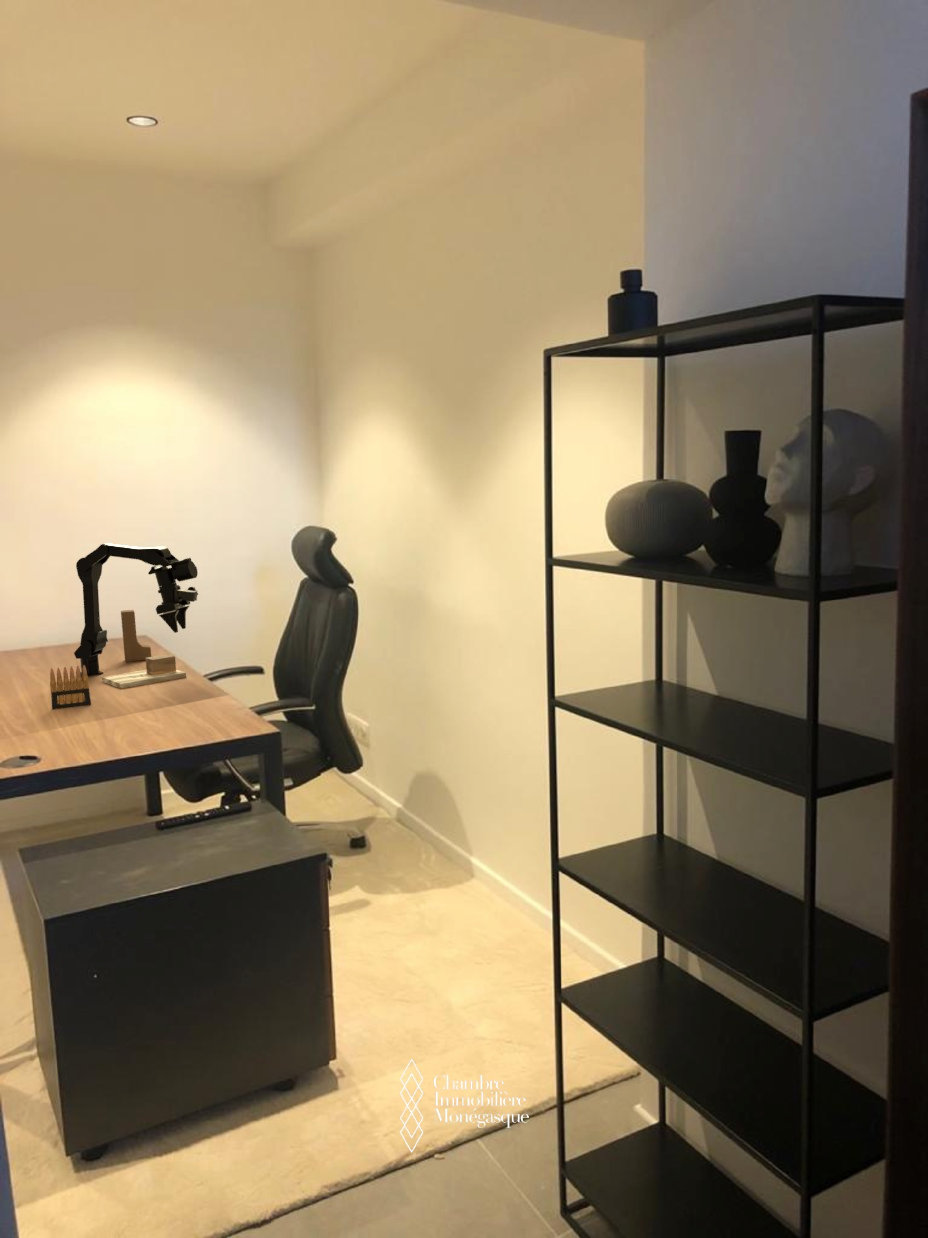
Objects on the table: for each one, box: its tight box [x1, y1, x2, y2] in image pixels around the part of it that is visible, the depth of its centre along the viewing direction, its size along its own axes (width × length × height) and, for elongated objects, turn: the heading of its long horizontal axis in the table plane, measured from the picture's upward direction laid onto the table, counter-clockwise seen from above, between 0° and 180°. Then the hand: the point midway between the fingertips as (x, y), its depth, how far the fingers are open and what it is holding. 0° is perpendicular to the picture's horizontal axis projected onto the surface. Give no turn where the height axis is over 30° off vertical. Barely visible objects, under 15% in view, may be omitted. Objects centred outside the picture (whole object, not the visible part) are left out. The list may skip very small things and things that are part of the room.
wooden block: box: [120, 609, 152, 663], centre depth 365 cm, size 9×4×18 cm, turn 110°
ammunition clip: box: [49, 665, 92, 711], centre depth 296 cm, size 11×2×12 cm, turn 113°
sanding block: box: [145, 654, 177, 675], centre depth 335 cm, size 5×8×5 cm, turn 131°
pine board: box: [101, 669, 187, 689], centre depth 332 cm, size 15×22×2 cm
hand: (180, 630), depth 335 cm, fingers open, 9 cm apart
